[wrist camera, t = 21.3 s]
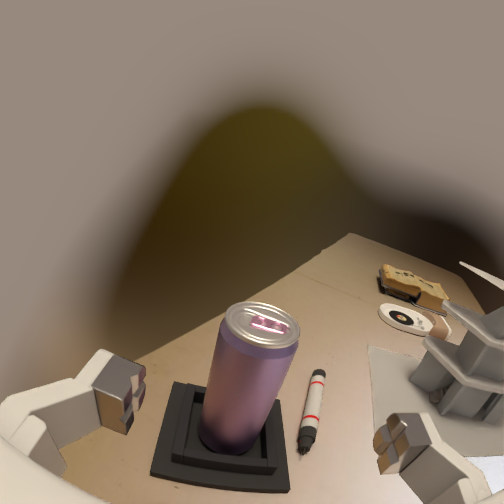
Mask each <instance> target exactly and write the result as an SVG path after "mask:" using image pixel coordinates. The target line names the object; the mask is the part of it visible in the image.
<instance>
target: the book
mask: <svg viewBox="0 0 504 504" xmlns="http://www.w3.org/2000/svg"><path fill="white" fill-rule="evenodd" d="M379 274H380V278H381V284H382V286H384V288H385V293H387V294H391V295H393V296H396V297H399V298H401V299H405V300H410V301H411V302H412V303H413V304H414V305H415V306H417V307H420V308H423V309H425V310H429V311H431V312H434V313H437V314H441V315H444V316H446V315H447V314H446V313H447V312H446V311H445V310H443V309H442V308H441V305H442V302H443V301H444V300H448V301H450V299H451V298H450V299H449V298H448V297H447V295H446V294H445V292H444V291H443V290H442V288H441V286H440V283H439V284H437V283H431V282H428V281H426V280H424V279H422V278H420V277H418V276H414V275H413V274H412V272H409V271H404V270H399V269H396V268H394V267H392V266H390V265H387V264H386V265H382V267H381V269H379ZM410 296H412V297H414V298H412V300H411V298H410ZM415 298H417V299H415ZM450 302H451V301H450Z"/></svg>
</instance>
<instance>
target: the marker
mask: <svg viewBox="0 0 504 504" xmlns="http://www.w3.org/2000/svg"><path fill="white" fill-rule="evenodd" d="M325 376H326V373H325V371H324V370H322V369H317V370H315V371H314V372H313V374H312V379H311V383H310V388H309V392H308V397H307V402H306V406H305V411H304V415H303V419H302V423H301V428H300V433H299V437H298V441H299V442H300V446H299V450H300V451H302V455H304V452H308V451H309V450H310V448H311V445H312V444H313V443H314V442H315V438H316V433H317V430H318V424H319V418H320V412H321V406H322V399H323V392H324V385H325Z"/></svg>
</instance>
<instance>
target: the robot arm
mask: <svg viewBox="0 0 504 504" xmlns="http://www.w3.org/2000/svg"><path fill="white" fill-rule="evenodd" d="M145 376H146V367H145V366H143V365H140V364H138V363H135V362H133V361H130V360H128V359H125V358H123V357H121V356H118V355H116V354H113V353H111V352H108V351H106V350H104V349H100V350H98V351H97V352H96V353H95V354H94V356H93V357H92V358H91V359H90V361H89V362H88V363H87V364H86V365H85V367H84V368H83V369H82V370H81V372H80V373H79V374H78V375H77V377H76V378H75V379H72V378H67V379H64V380H61V381H58V382H54V383H52V384H48V385H45V386H41V387H38V388H34V389H31V390H28V391H23V392H20V393H16V394H13V395H9V396H8V397H7V398H6V399H5V400H4V401H3V402H2V403H1V405H0V504H112V503H110V502H108V501H105V500H103V499H101V498H99V497H97V496H94V495H92V494H90V493H88V492H86V491H84V490H82V489H80V488H78V487H77V486H75V485H73V484H71V483H69V482H67V481H66V480H64V479H62V478H61V477H62V475H63V473H64V471H65V470H66V468H67V464H66V462H65V460H64V458H63V456H62V455H61V453H60V451H59V449H60V448H62V447H64V446H66V445H68V444H70V443H72V442H74V441H76V440H78V439H80V438H82V437H84V436H86V435H88V434H89V433H91V432H93V431H95V430H97V429H99V428H100V427H101V426H104V427H106V428H108V429H111V430H113V431H116V432H118V433H121V434H124V435H126V436H127V433H128V431H129V429H130V427H131V425H132V423H133V421H134V414H133V413H135V412H137V411H139V409H140V407H141V405H142V402H143V399H144V396H145V389H146V384H145V383H144V381H143V379H144V377H145ZM373 447H374V451H375V452H376V453H377V454H378V455H379V457H378V459H377V463H378V467H379V471H380V475H383V474H397V473H400V474H399V475H400V476H401V477H402V479H403V480H404V481H405V482H406V483H407V484H408V486H409V487H410V488H411V489H412V490H413V491H414V493H415V494H416V495H417V496H418V497H419V498H420V500H421V501H422V502H423V503H424V504H504V489H502V490H500V491H498V492H497V493H495V494H493V495H492V493H491V490H490V488H489V486H488V483H487V481H486V479H485V476H484V474H483V472H482V471H481V470H480V469H479V468H477V467H476V466H475V465H473V464H472V463H471V462H470V461H468V460H467V459H466V458H464V457H463V456H462V455H461V454H459V453H458V452H457V451H456V450H454V449H453V448H452V447H451V446H449V445H448V444H447V443H443V442H442V440H441V438H440V435H439V433H438V431H437V429H436V427H435V425H434V423H433V421H432V419H431V417H430V415H429V414H428V413H427V412H416V413H414V412H411V413H392V414H391V415H389V417H388V418H387V419H386V424H385V425H383V426H381V427H380V428H379V429H378V430H377V432H376V433H375V436H374V439H373Z"/></svg>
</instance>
